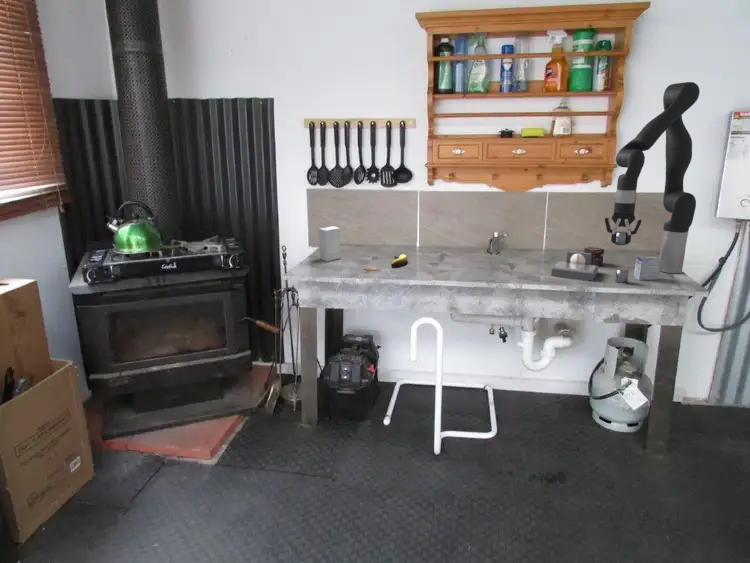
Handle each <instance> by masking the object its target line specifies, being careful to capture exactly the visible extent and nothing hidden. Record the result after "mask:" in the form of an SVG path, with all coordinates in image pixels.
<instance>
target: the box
mask: <svg viewBox="0 0 750 563" xmlns="http://www.w3.org/2000/svg"><path fill="white" fill-rule="evenodd" d="M583 250H584V251H583V253H591V257H590V265H595V266H598V267H599V266H603V263H604V254H605V248H601V247H597V246H585V247H584V248H583Z"/></svg>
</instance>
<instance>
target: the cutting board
mask: <svg viewBox="0 0 750 563" xmlns="http://www.w3.org/2000/svg"><path fill="white" fill-rule="evenodd" d="M394 258H395V259H394V260H393V261H392V262H391V264H390V265H391V266H390V267H391V268H392V267H393V268H400V267H402V266H404V265H405V264H406V263H407V262H408V256H407V255H406V254H400V255H399V256H394ZM423 259H424V261H426V262H427V259H426V258H425V257H423ZM363 270H365V271H368V272H369V271H371V272H372V271H373V272H378V271H381V269H380V268H379V269H372V267H370V268H367V267H363ZM390 272H393V273H394V272H395V270H390Z"/></svg>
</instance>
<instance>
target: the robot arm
mask: <svg viewBox="0 0 750 563" xmlns="http://www.w3.org/2000/svg"><path fill="white" fill-rule="evenodd" d="M662 97H663V98H662V100H663V101H662V102H663V111H662V112H661V113H659V114H658V115H657V116H655V117H654V118H653V119H651V120H650V121H649V122H647V123H646V124H645V125H644V126H643V127H642V129H641V130H640V131H639V133H637V135H636V136H635V137H634V138H633V139H631V140H630V141H629V142H627V144H625V145H624V146H622V147H621V149H620V150H618V152H617V154H616V157H615V163H616V165H617V166H618V167H620V168H626V171H625V173H622V174H620V175H619V176H618V178H617V184H616V185H617V186H616V192H615V197H614V207H613V214H612V215H611V216H606V217H605V218H604V223H605V227H606V228H605V229H606V232H607V233H610V234H611V236H610V237H611V240H610V242H611V243H612V244H615V235H616V231H618V228H619V227H620V228H621V227H623V228H626V232H627V233H628V235H627V241H626V245H629V244H630V243H631V241H632V235H637V232H638V231H639V229H640V226H641V224H642V222H643V220H642V218H637V217H636V216H635V212H636V211H635V210H636V201H637V189H638V188H637V187H638V179H639V177H640V175H641V172H642V170H643V167H644V164H645V161H646V160H645V159H646V156H645V151H649V150H650V149H651V148H652V147H653V146H654V145H655V143H657V141H658V140H659V138H660V137H661V136H663V134H664V133H665V183H664V192H663V207H664V209H665V211H666V212H668V213H671V216H670V219H669V221H667V222H664V224H663V228H662V236H661V241H660V248H659V255H658V258H659V259H661V264H660V270H659V272H662V273H668V274H682V273H683V267H684V260H685V255H686V249H687V247H686V246H687V242H688V238H689V237H688V236H689V230H690V227H691V226H692V224H693V220H694V216H695V212H696V207H697V200H696V197H695V196H694V194H692V193H690V192H688V191H687V192H686V191H684V179H685V175H686V172H687V170H688V168H689V166H690V164H691V162H692V158H693V139H692V136H691V135H690V133H689V131H688V130H687V128H686V125H685V123H684V120H683V114H685V112H687V111H688V110H689V109H690V108H691V107H692V106H694V104H696V103H697V101H698V99H699V98H700V87H699V85H698V84H697V83H695V82H693V81H684V82H675V83H672V84H669V85H668V86H667V87H666V88H665V90H664V93H663V96H662ZM611 221H613V223H614V224H615V225H614V226H613V228H611ZM633 222H634V224H635V227H634V230H632V228H631V225H632V224H633Z"/></svg>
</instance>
